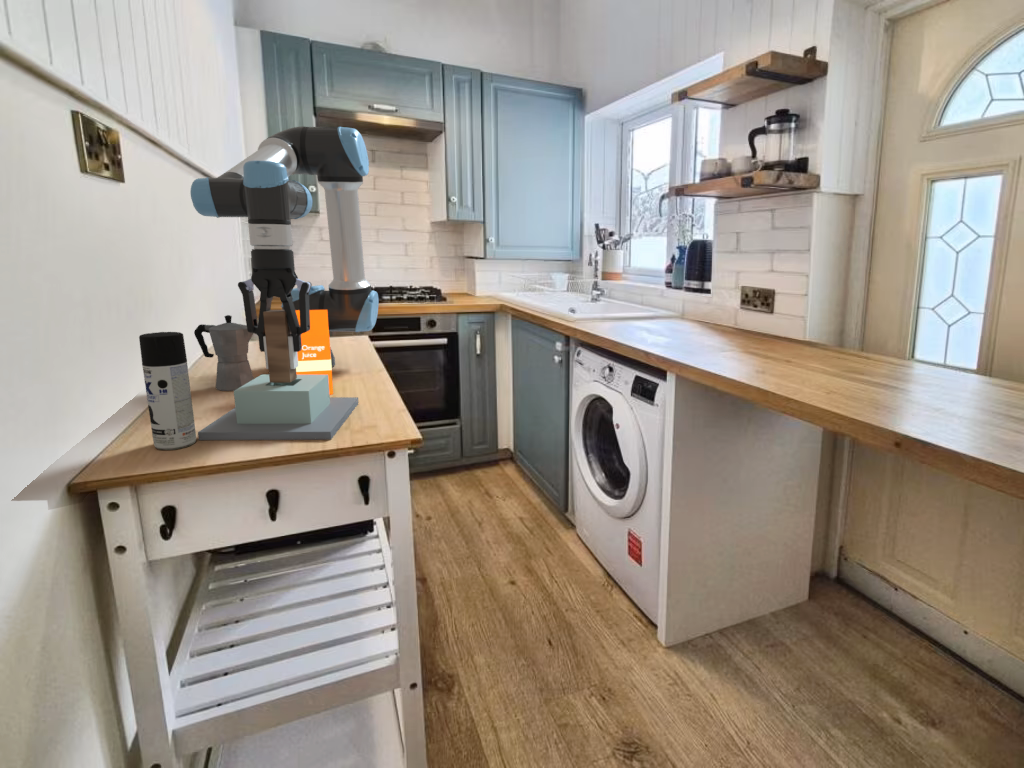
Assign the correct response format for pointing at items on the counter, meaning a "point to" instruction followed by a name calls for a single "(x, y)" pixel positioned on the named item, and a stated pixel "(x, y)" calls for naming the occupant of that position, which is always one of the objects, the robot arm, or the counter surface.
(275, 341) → the peg
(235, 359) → the coffeepot
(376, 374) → the counter surface
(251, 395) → the socket block
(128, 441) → the counter surface
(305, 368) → the orange juice
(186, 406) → the spray can
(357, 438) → the counter surface
